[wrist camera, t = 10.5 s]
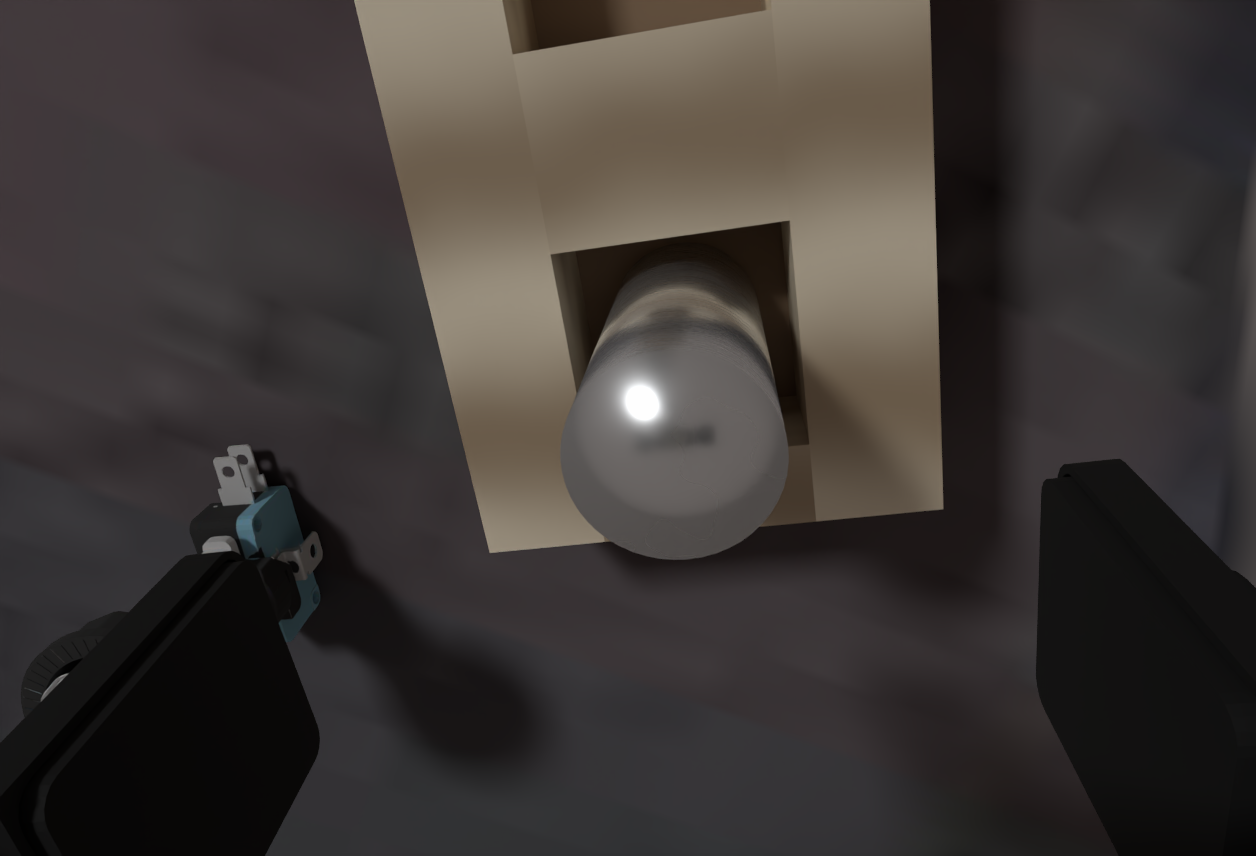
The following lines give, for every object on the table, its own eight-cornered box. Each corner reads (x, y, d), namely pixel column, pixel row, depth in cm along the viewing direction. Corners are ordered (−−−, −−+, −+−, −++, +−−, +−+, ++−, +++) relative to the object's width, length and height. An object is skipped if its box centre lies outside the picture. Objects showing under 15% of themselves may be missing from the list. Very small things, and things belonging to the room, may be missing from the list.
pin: (604, 253, 24) (540, 366, 15) (750, 232, 24) (777, 336, 15) (626, 389, 26) (581, 569, 17) (765, 372, 25) (798, 548, 16)
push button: (173, 444, 30) (-67, 620, 20) (325, 431, 29) (147, 606, 20) (231, 613, 32) (39, 837, 23) (372, 605, 31) (233, 832, 22)
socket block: (360, -269, 21) (265, -358, 17) (867, -386, 20) (916, -520, 15) (524, 473, 29) (490, 552, 24) (903, 432, 27) (943, 509, 23)
